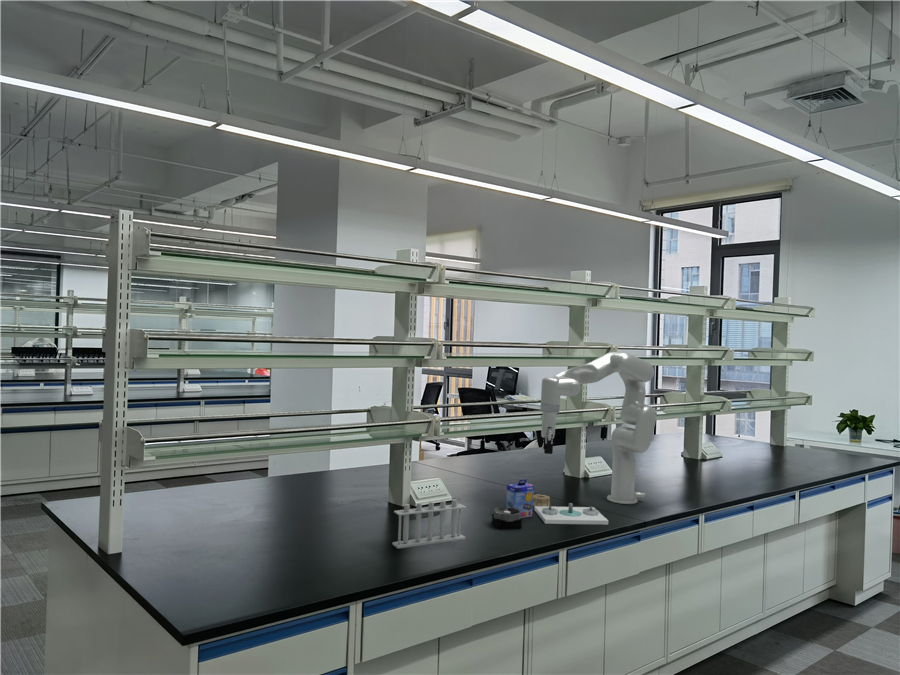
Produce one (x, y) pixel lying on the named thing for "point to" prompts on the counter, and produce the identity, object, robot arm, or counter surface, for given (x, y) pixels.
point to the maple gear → (541, 500)
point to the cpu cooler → (507, 518)
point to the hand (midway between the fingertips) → (547, 451)
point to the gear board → (570, 515)
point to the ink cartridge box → (521, 497)
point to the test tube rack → (429, 524)
